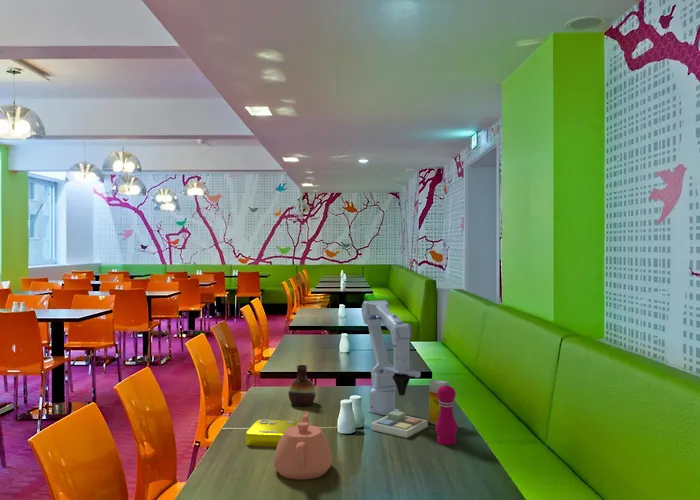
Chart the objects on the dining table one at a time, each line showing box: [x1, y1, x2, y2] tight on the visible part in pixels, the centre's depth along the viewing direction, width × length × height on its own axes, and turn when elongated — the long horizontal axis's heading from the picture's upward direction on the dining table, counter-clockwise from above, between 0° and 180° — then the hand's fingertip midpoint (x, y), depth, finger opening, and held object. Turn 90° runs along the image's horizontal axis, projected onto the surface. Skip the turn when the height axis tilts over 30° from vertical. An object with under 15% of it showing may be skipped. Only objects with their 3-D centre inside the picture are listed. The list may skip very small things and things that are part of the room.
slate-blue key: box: [377, 419, 395, 427], centre depth 199 cm, size 4×4×2 cm
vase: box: [288, 364, 316, 407], centre depth 231 cm, size 11×11×15 cm
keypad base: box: [370, 415, 429, 439], centre depth 200 cm, size 14×14×2 cm
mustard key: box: [394, 422, 412, 430], centre depth 195 cm, size 4×4×2 cm
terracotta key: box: [404, 416, 423, 426], centre depth 200 cm, size 4×4×2 cm
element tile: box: [245, 418, 299, 448], centre depth 190 cm, size 15×15×5 cm
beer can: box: [428, 379, 445, 426], centre depth 206 cm, size 6×6×15 cm
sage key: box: [388, 410, 406, 422], centre depth 205 cm, size 4×4×2 cm
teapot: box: [273, 411, 333, 480], centre depth 165 cm, size 25×17×13 cm
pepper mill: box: [434, 380, 459, 446], centre depth 186 cm, size 7×7×20 cm
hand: (401, 394), depth 205 cm, fingers closed
